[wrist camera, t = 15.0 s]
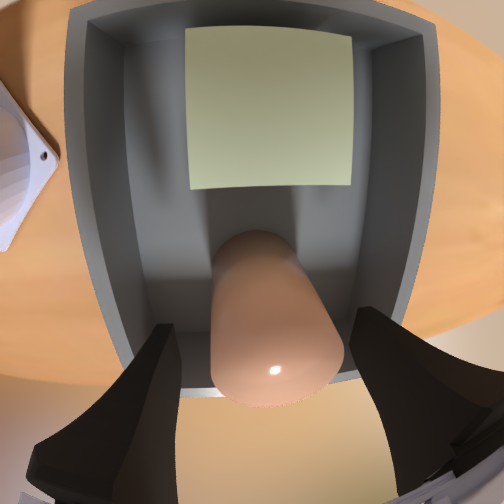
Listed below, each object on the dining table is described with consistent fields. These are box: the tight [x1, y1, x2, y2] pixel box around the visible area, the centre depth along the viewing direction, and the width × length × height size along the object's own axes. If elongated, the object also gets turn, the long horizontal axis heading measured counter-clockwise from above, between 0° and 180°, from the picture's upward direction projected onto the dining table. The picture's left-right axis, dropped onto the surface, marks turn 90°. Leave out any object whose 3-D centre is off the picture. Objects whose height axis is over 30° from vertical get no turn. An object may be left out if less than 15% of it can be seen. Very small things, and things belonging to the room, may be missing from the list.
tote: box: [64, 0, 440, 397], centre depth 12 cm, size 18×14×5 cm
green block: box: [185, 26, 354, 190], centre depth 10 cm, size 5×5×5 cm
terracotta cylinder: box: [211, 230, 344, 407], centre depth 12 cm, size 5×5×7 cm
